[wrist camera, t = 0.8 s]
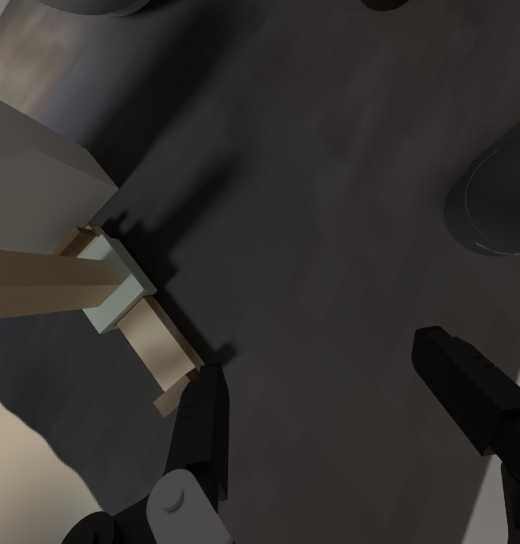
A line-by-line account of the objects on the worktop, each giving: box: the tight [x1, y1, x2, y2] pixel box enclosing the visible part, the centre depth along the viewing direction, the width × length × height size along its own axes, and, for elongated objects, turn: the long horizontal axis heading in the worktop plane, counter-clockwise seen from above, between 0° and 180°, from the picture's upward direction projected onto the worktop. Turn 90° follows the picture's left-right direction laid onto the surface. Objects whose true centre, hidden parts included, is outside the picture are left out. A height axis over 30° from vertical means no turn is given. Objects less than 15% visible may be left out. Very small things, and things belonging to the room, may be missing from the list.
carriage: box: [0, 234, 158, 334], centre depth 25 cm, size 9×8×19 cm
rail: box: [50, 225, 205, 418], centre depth 32 cm, size 25×5×4 cm, turn 42°
